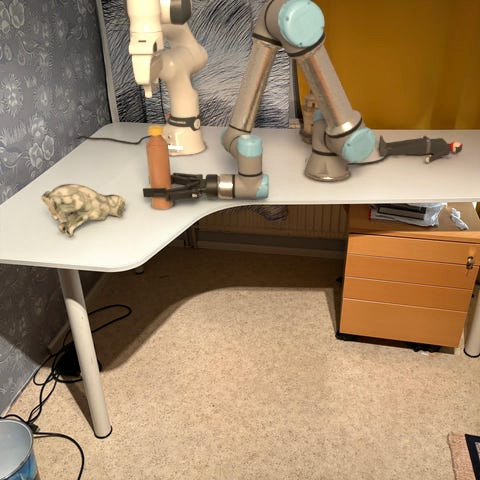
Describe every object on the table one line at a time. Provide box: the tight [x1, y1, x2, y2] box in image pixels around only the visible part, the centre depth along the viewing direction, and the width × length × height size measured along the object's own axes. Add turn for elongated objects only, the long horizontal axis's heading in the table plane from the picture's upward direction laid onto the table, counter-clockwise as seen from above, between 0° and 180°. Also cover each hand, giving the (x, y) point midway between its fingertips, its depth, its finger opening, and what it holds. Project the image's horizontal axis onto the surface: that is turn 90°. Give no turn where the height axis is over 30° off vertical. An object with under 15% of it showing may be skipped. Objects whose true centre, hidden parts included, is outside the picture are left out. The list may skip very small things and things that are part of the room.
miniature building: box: [298, 88, 320, 144], centre depth 213 cm, size 13×14×30 cm
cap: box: [147, 124, 163, 136], centre depth 157 cm, size 4×4×2 cm
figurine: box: [40, 183, 126, 238], centre depth 153 cm, size 10×19×20 cm
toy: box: [378, 134, 464, 163], centre depth 203 cm, size 26×6×30 cm
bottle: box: [145, 135, 174, 210], centre depth 163 cm, size 7×7×25 cm
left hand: (152, 93), depth 152 cm, fingers open, 6 cm apart
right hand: (146, 186), depth 166 cm, fingers open, 9 cm apart
